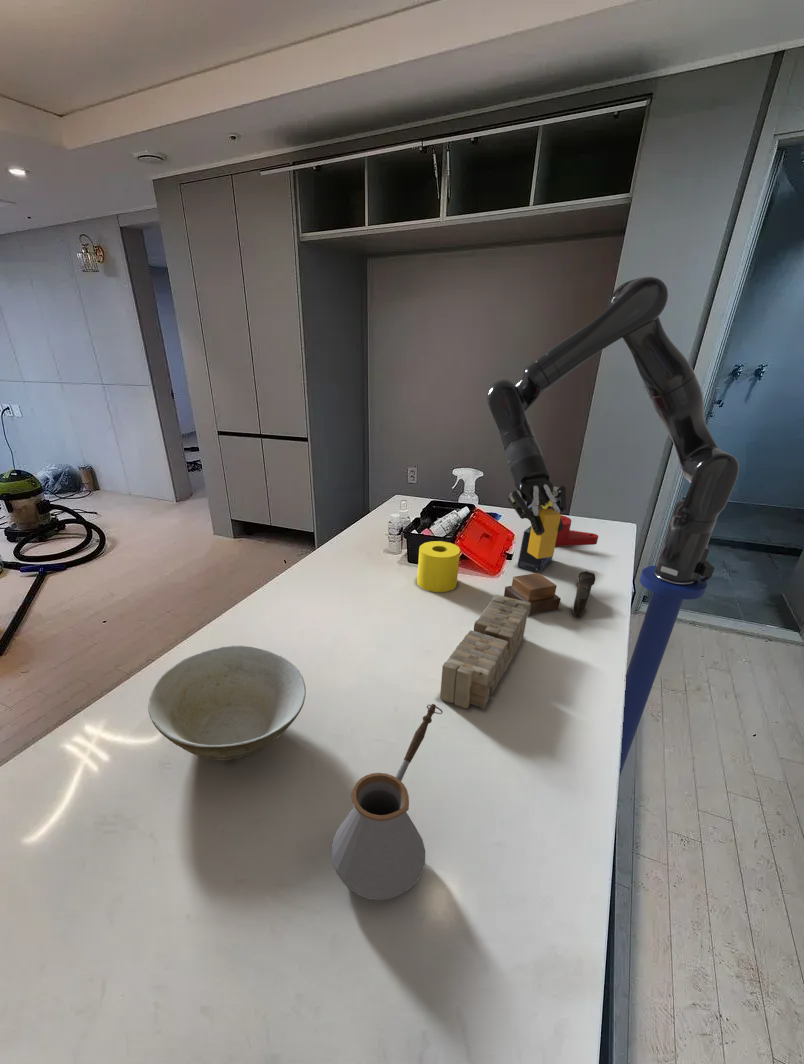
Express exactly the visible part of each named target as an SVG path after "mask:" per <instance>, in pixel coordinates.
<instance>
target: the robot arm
mask: <svg viewBox="0 0 804 1064" xmlns="http://www.w3.org/2000/svg"><path fill="white" fill-rule="evenodd" d="M668 290H669V289H668V286H667V285H666V283H665V282H664V281H663V280H662V279H660V278H658V277H656V276H655V277H654V276H642V277H638V278H635V279H631V280H629V281H626V282H624V283H622V284H621V285H619V286H618V287H617V288H616V289H615V291H613V293H612V295H611V297H610V300H609V302H608V308H607V309H606V310H605V311H603V312H602V313H601V314H600V315H598V317H596V318H595V319H594V320H593V321H591V322H590V323H588V324H586V325H585V326H583V327H582V328H580V329H579V330H577V331H575V332H573V334H571V335H569V336H567V337H566V338H564V339H562V340H561V341H559V342H557V343H556V344H554V345H553V346H551V347H550V348H548V349H547V350H546V351H545V352H543V353H541V355H539V356H538V357H536V358H535V359H533V361H531V362H530V363H529V364H528V365H526V366H525V368H524V369H523V371H522V377H521V379H520V380H519V381H518V382H517V383H516V384H515V383H514V382H513V381H512V380H510V379H504V378H503V379H499V380H497V381H495V382H493V383H492V384H491V386H490V387H489V389H488V391H487V395H486V402H487V405H488V409H489V410H490V413H491V415H492V418H493V420H494V422H495V424H496V426H497V429H498V432H499V436H500V440H501V444H502V447H503V451H504V452H505V458H506V462H507V465H508V468H509V472H510V475H511V477H512V480H513V484H514V486H515V488H516V490H513V491H512V492H511V493H510V494H509V495H508V496H507V500H508V502H509V504H510V505H511V506H512V508H513V509H514V511H515V512H516V514H517V515H518V517H519V518H520V519H522V520H524V519H527V521H529V522H530V524H531V525H530V526H532V528H533V531H534V533H536V535H541V534H543V533H544V532H545V530H544V527H543V524H542V521H541V518H540V516H538V514H539V513H538V510H539V506H540V507H541V508H542V509H549V508H550V509H552V510H554V511H556V512H558V513H560V514H561V513H562V512H564V511H565V510H567V490H566V486H565V485H561V486H560V487H559V486H555V485H554V484H553V483H552V482H551V480H550V471H549V468H548V466H547V463H546V460H545V457H544V454H543V451H542V448H541V446H540V445H539V443H538V440H537V439H536V435H535V433H534V430H533V427H532V424H531V421H530V420H529V419H528V417H527V415H526V411H527V410H528V409H529V408H530V407H531V406H532V405H533V404H534V403H535V402H536V401H537V400H538V399H539V397H541V395H542V394H543V393H545V392H546V391H547V390H549V389H550V388H551V387H553V386H555V385H556V384H557V383H558V382H560V381H561V380H563V379H564V378H565V377H567V376H568V375H569V374H571V373H572V372H574V371H575V370H576V369H578V368H579V367H580V366H582V365H583V364H584V363H586V362H588V360H590V359H591V358H592V357H594V356H595V355H597V354H598V353H600V352H601V351H603V350H604V349H606V348H608V347H609V346H611V345H612V344H614V343H615V342H617V341H619V340H621V339H622V340H623V342H624V343H625V344H626V346H627V348H628V350H629V351H630V354H631V355H632V358H633V360H634V363H635V366H636V368H637V371H638V373H639V375H640V378H641V380H642V382H643V385H644V387H645V389H646V392H647V395H648V397H649V399H650V401H651V403H652V406H653V408H654V410H655V412H656V414H657V416H658V418H659V420H660V421H661V424H662V425H663V427H664V429H665V431H666V432H667V434H668V435H669V437H670V439H671V441H672V443H673V446H674V449H675V451H676V455H677V459H678V462H679V465H680V469H681V471H682V475H683V476H684V478H685V479H686V481H687V482H689V487H688V490H687V492H686V495H685V497H684V499H681V500H678V501H677V502H676V504H675V507H674V510H673V513H672V517H671V519H670V522H669V526H668V529H667V531H666V535H665V538H664V541H663V545H662V548H661V551H660V554H659V557H658V561H657V564H656V565H655V566H656V569H655V571H654V576H655V577H656V578H657V579H659V580H661V581H663V582H666V583H669V584H673V585H680V586H687V585H692V584H697V583H698V581H699V578H700V576H701V577H702V578H703V579H701V580H700V581H701V582H705V581H706V582H707V581H708V580H710V578H712V577H713V574H714V571H715V566H714V565H712V564H711V562H709V561H708V560H707V559H708V556H709V553H710V549H709V548H708V545H709V542H710V540H711V536H712V534H713V531H714V529H715V526H716V523H717V519H718V517H719V515H720V513H721V512H722V511H723V510H724V509H725V508H726V506H727V504H728V501H729V500H730V497H731V495H732V492H733V490H734V487H735V485H736V483H737V481H738V476H739V473H740V464H739V461H738V459H737V458H736V457H735V456H734V455H732V454H730V453H728V452H726V451H725V450H722V449H721V448H720V447H719V446H718V445H717V443H716V441H715V440H714V438H713V436H712V434H711V433H710V432H711V431H710V430H709V428H708V425H707V422H706V417H705V401H704V400H705V399H704V394H703V390H702V387H701V385H700V382H699V380H698V378H697V375H696V373H695V371H694V369H693V367H692V365H691V363H690V361H688V359H687V358H686V357H685V355H684V354H683V352H681V351H680V350H679V348H678V347H677V346H676V345H675V344H674V343H673V341H672V340H671V339H670V338H669V336H668V335H667V333H666V331H665V329H664V327H663V324H662V321H661V319H660V316H661V314H662V313H663V311H664V310H665V308H666V307H667V302H668V299H669V292H668ZM562 530H563V523H562V519H561V518H560V523H559V527H558V533H559V532H560V531H562Z"/></svg>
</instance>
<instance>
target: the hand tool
mask: <svg viewBox="0 0 804 1064" xmlns="http://www.w3.org/2000/svg"><path fill="white" fill-rule="evenodd" d="M595 582H596V575H595V573H593V572H591V571H588V570H585V571H580V572H579V573H578V574H577V583H576V587H577V588H576V591H575V593H576V594H575V598H574V603H573V613H574V616H575V618H576V619H578V618H580V617H582V614H584V612H585V610H586V606H587V604H588V601H589V597H590V594H591V590H592V587H593V586H594V585H595Z"/></svg>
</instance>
